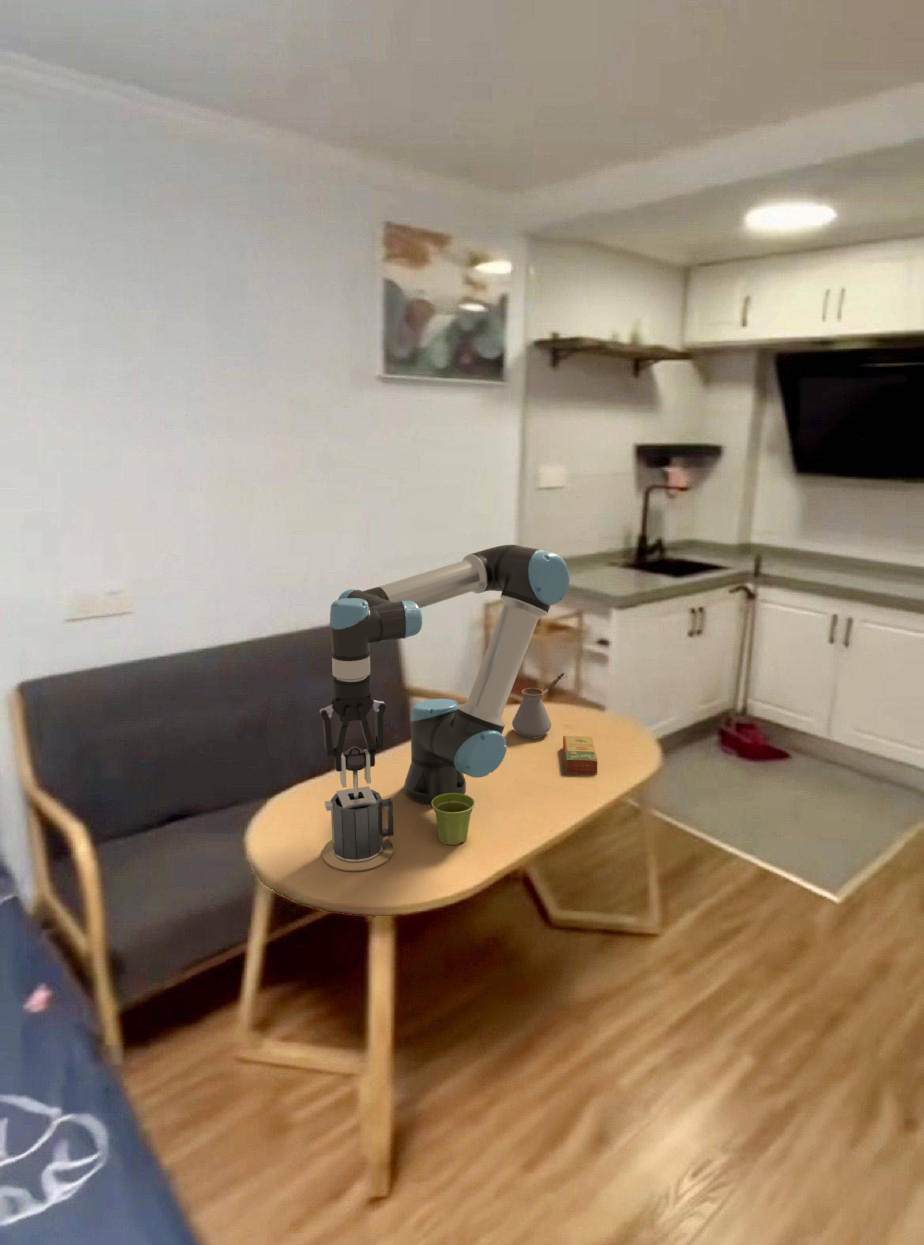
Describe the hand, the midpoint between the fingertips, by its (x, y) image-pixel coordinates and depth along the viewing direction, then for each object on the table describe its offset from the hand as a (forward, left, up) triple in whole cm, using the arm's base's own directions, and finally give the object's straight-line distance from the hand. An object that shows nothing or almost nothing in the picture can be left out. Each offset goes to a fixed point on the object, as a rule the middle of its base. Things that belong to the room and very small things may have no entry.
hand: (355, 782), depth 165 cm
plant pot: (-21, +1, -16) cm, 27 cm away
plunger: (0, 0, -13) cm, 13 cm away
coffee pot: (-66, -50, -16) cm, 84 cm away
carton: (-66, -26, -17) cm, 73 cm away
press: (0, 0, -16) cm, 16 cm away
